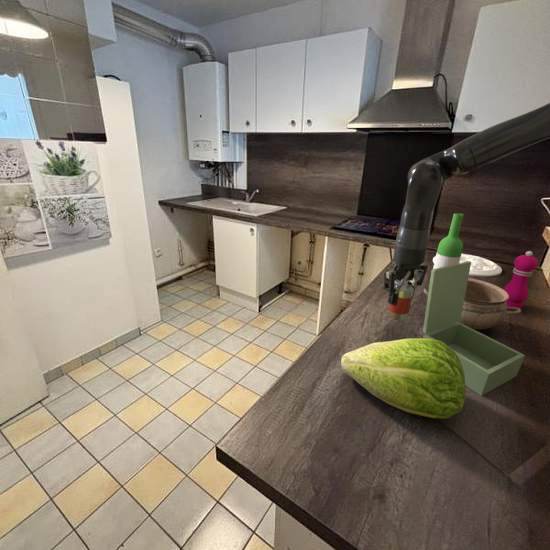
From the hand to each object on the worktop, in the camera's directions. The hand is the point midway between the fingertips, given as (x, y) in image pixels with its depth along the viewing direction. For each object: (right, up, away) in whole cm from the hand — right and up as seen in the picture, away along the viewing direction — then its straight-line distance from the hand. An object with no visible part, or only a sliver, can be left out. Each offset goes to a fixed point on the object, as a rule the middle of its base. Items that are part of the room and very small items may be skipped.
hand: (400, 301), depth 81 cm
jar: (0, -4, +2) cm, 4 cm away
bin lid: (+9, +2, -8) cm, 12 cm away
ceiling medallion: (+56, +12, +58) cm, 81 cm away
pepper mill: (+48, -3, +21) cm, 52 cm away
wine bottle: (+28, +1, +31) cm, 42 cm away
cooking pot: (+24, -8, +10) cm, 27 cm away
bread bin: (+12, -16, -8) cm, 22 cm away
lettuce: (-8, -19, -16) cm, 26 cm away
